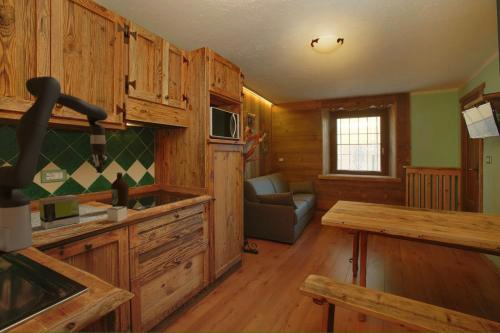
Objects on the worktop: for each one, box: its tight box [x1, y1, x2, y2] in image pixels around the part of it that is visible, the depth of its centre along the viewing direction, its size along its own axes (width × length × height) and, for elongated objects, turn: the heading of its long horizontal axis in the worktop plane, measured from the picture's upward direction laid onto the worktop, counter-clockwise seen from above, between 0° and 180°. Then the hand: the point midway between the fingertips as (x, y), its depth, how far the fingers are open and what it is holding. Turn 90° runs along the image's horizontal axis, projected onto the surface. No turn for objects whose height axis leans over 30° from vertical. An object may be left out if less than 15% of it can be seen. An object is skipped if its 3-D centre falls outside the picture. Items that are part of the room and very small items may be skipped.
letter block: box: [106, 206, 128, 222], centre depth 138 cm, size 7×7×7 cm
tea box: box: [38, 194, 81, 230], centre depth 129 cm, size 15×10×15 cm, turn 141°
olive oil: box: [110, 171, 130, 211], centre depth 161 cm, size 11×11×25 cm
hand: (99, 172), depth 142 cm, fingers closed
